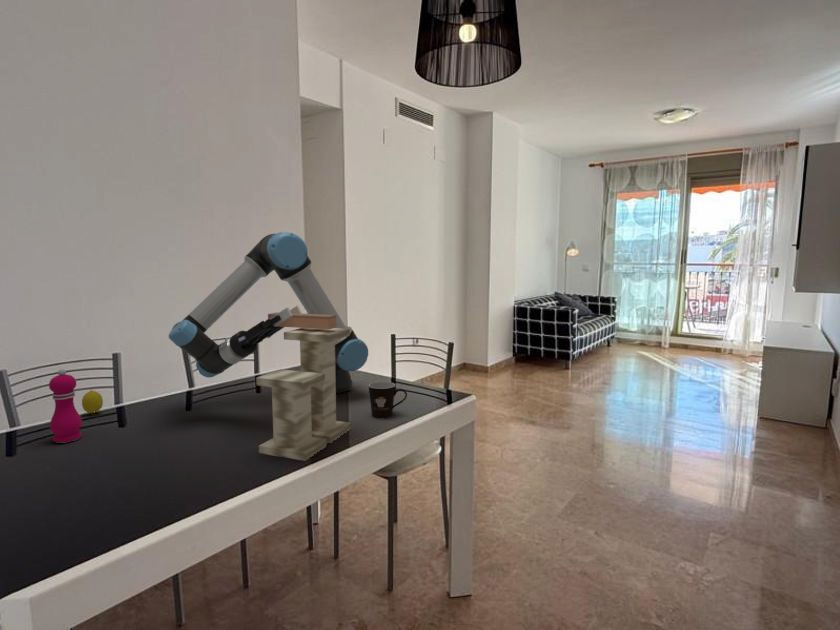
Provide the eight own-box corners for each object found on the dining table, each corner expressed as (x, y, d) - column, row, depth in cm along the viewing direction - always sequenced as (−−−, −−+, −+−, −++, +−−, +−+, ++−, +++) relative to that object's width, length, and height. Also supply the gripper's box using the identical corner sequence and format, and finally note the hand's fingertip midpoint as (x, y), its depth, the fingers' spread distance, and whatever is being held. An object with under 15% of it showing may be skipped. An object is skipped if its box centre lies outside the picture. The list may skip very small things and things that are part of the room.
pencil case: (336, 327, 136) (336, 315, 136) (329, 329, 132) (328, 316, 132) (276, 324, 143) (276, 312, 142) (268, 326, 139) (267, 313, 139)
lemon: (81, 418, 152) (79, 393, 151) (84, 413, 157) (82, 389, 156) (102, 415, 154) (100, 391, 153) (104, 410, 159) (102, 387, 158)
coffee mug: (363, 417, 154) (363, 386, 152) (378, 409, 161) (377, 380, 160) (394, 422, 148) (394, 391, 147) (408, 415, 156) (408, 384, 155)
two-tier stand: (351, 429, 143) (349, 328, 139) (305, 460, 120) (302, 342, 117) (310, 423, 147) (307, 326, 144) (259, 453, 125) (254, 338, 121)
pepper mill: (58, 446, 129) (51, 373, 126) (46, 441, 132) (40, 370, 130) (88, 438, 135) (82, 368, 132) (76, 433, 138) (70, 365, 136)
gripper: (212, 340, 138) (269, 301, 130) (252, 331, 154) (305, 297, 146) (224, 363, 138) (282, 326, 129) (262, 352, 154) (316, 318, 145)
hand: (294, 310), depth 138 cm, fingers closed on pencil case, 4 cm apart
